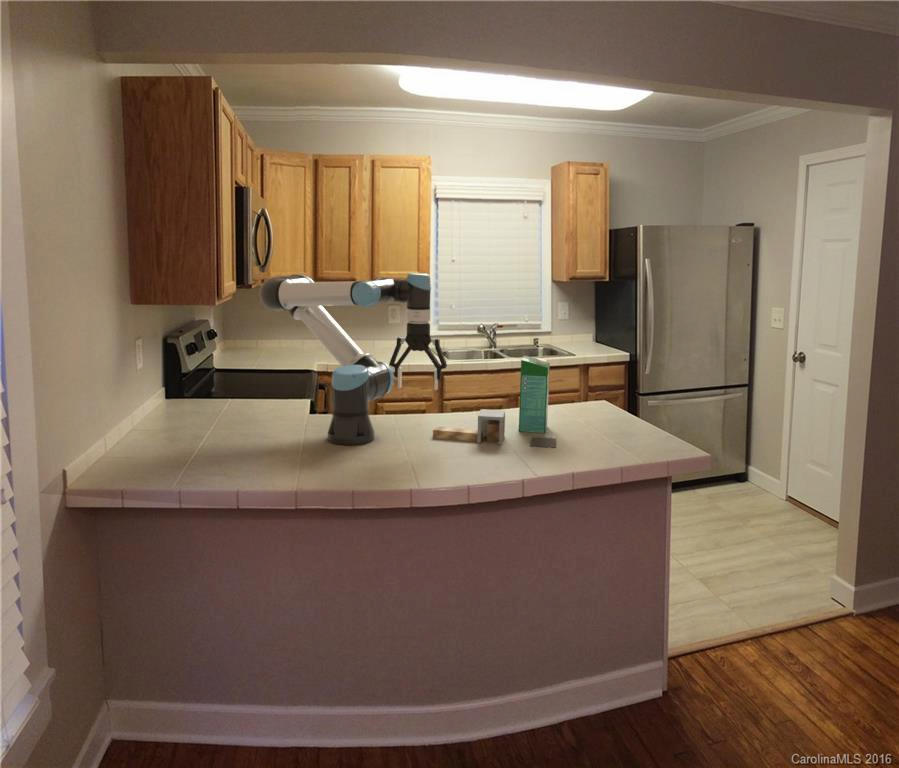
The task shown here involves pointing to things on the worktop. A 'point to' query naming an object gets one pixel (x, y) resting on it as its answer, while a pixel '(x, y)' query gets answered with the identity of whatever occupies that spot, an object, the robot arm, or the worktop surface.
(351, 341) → the robot arm
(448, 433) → the tan long bar
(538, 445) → the mat
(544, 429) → the milk carton
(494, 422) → the block
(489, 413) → the tunnel
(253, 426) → the worktop surface
